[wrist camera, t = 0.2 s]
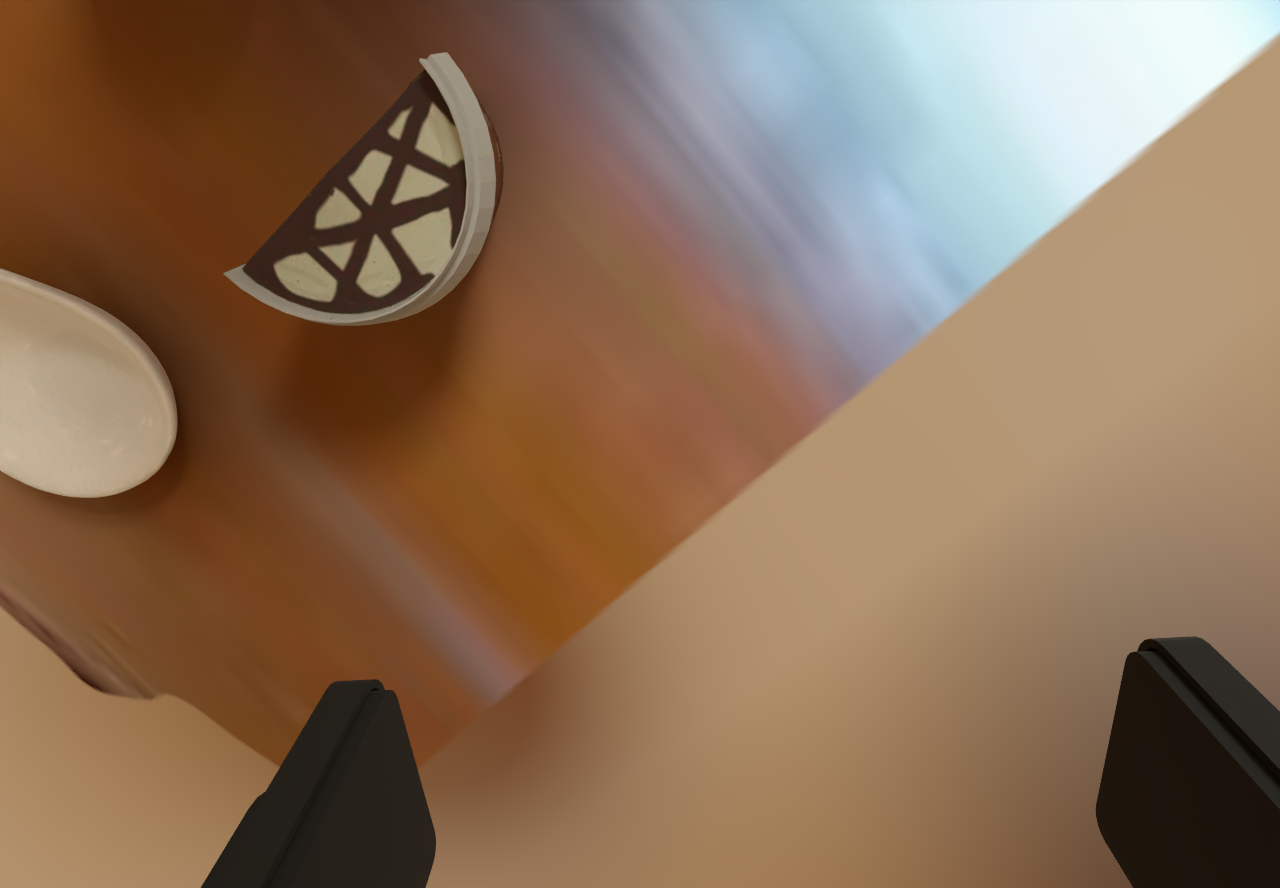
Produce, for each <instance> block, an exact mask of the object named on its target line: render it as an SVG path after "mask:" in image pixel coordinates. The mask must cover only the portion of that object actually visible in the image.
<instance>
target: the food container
mask: <svg viewBox="0 0 1280 888" xmlns="http://www.w3.org/2000/svg"><path fill="white" fill-rule="evenodd" d="M419 61H420V63H421V64H422V65H423V67H424V68H425V70H424V71H423V72H422V73H421V74H420V75H419V76H418V77H417V78H416V79H415V80H414V81H412V82H411V84H410V85H409V87H408V88H407V90H406V91H405V92H404V93H403V94H402V96H401V97H400V98H399V99H398V100H397V101H396V102H395V103H394V104H393V106H392V107H391V108H390V109H389V110H388V111H387V112H386V113H385V114H384V115H383V116H382V117H381V118H380V119H379V120H378V121H377V122H376V124H375V125H374V126H373V127H372V128H371V129H370V130H369V131H368V132H367V133H366V134H365V135H364V136H363V137H362V138H361V139H360V140H359V141H358V142H357V143H356V144H355V146H354V147H353V148H352V149H351V150H350V151H349V152H348V153H347V154H346V155H345V156H344V157H343V158H342V159H341V160H340V161H339V162H338V163H337V164H336V165H335V166H334V167H333V168H332V169H331V170H330V171H329V172H328V173H327V174H326V175H325V176H324V177H323V178H322V179H321V181H320V182H319V183H318V184H317V185H316V187H315V188H314V189H313V190H312V191H311V192H310V194H309V195H308V196H307V197H306V198H305V199H304V201H303V202H302V203H301V204H300V205H299V206H298V207H297V208H296V210H295V211H294V212H293V213H292V214H291V215H290V216H289V217H288V219H287V220H286V221H285V222H284V223H283V224H282V225H281V226H280V227H279V228H278V230H277V231H276V232H275V233H274V234H273V235H272V236H271V237H270V238H269V239H268V240H267V242H266V243H265V244H264V245H263V246H262V247H261V248H260V249H259V250H258V251H257V252H256V254H255V255H254V256H253V257H252V258H251V259H250V260H249V261H248V262H247V263H246V264H244V265H241V266H239V267H237V268H234V269H232V270H229V271H227V272H225V273H224V275H225V276H226V277H227V278H229V279H230V280H231V281H232V282H234V283H235V284H236V285H237V286H238V287H240V288H241V289H242V290H244V291H245V292H247V293H249V294H250V295H252V296H253V297H255V298H256V299H258V300H260V301H261V302H263V303H265V304H267V305H269V306H271V307H274V308H276V309H278V310H280V311H282V312H284V313H288V314H290V315H293V316H296V317H299V318H302V319H305V320H309V321H312V322H317V323H323V324H330V325H336V326H361V325H370V324H378V323H384V322H390V321H396V320H399V319H402V318H405V317H408V316H411V315H414V314H417V313H419V312H421V311H423V310H424V309H426V308H428V307H430V306H432V305H434V304H435V303H437V302H438V301H439V300H441V299H442V298H443V297H444V296H446V295H447V294H448V293H449V292H451V291H452V290H453V289H454V288H455V287H456V286H457V285H458V283H459V282H460V281H461V280H462V279H463V278H464V277H465V276H466V274H467V273H468V272H469V270H470V269H471V267H472V265H473V264H474V262H475V260H476V259H477V257H478V256H479V254H480V252H481V249H482V247H483V244H484V242H485V239H486V237H487V234H488V232H489V228H490V224H491V220H492V219H493V217H494V215H495V212H496V210H497V207H498V205H499V202H500V197H501V192H502V187H503V162H502V153H501V149H500V145H499V141H498V137H497V135H496V132H495V130H494V127H493V124H492V122H491V120H490V118H489V116H488V115H487V113H486V111H485V109H484V107H483V106H482V104H481V103H480V102H479V100H478V99H477V98H476V96H475V95H474V93H473V91H472V89H471V88H470V86H469V84H468V82H467V80H466V79H465V77H464V75H463V73H462V72H461V71H460V69H459V68H458V66H457V65H456V64H455V62H454V61H453V60H452V58H451V57H450V56H449V54H448V53H447V52H444V53H437V54H431V55H430V56H429V57H428V58H427V59H421V58H420V59H419Z"/></svg>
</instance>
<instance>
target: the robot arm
mask: <svg viewBox="0 0 1280 888" xmlns="http://www.w3.org/2000/svg"><path fill="white" fill-rule="evenodd" d="M1096 818H1097V822H1098V826H1099V829H1100V832H1101V834H1102V836H1103V838H1104V840H1105V842H1106V843H1107V845H1108V847H1109V848H1110V850H1111V852H1112V853H1113V855H1114V857H1115V858H1116V860H1117V862H1118V863H1119V865H1120V867H1121V868H1122V870H1123V871H1124V873H1125V875H1126V876H1127V878H1128V880H1129V881H1130V883H1131V885H1132V886H1133V888H1280V712H1279V710H1278V709H1277V708H1276V707H1274V706H1273V705H1272V704H1271V703H1270V702H1269V701H1268V700H1267V699H1266V698H1265V697H1264V696H1263V695H1262V694H1261V693H1260V692H1259V691H1258V690H1257V689H1256V688H1255V687H1254V686H1253V685H1252V684H1251V683H1250V682H1248V681H1247V680H1246V679H1245V678H1244V677H1243V676H1242V675H1241V674H1240V673H1239V672H1238V671H1237V670H1236V669H1235V668H1234V667H1233V666H1232V665H1231V664H1230V663H1229V662H1228V661H1227V660H1226V659H1224V657H1222V656H1221V655H1220V654H1219V653H1218V652H1217V651H1216V650H1215V649H1214V648H1213V647H1212V646H1211V645H1210V644H1209V643H1207V642H1206V641H1204V640H1203V639H1202V638H1198V637H1177V638H1157V639H1147V640H1144V641H1143V642H1142V643H1141V644H1140V646H1139V648H1138V651H1137V652H1132V653H1130V654H1129V655H1128V656H1127V658H1126V661H1125V666H1124V671H1123V676H1122V681H1121V685H1120V690H1119V695H1118V700H1117V705H1116V711H1115V715H1114V720H1113V725H1112V730H1111V735H1110V740H1109V745H1108V749H1107V754H1106V759H1105V764H1104V769H1103V774H1102V779H1101V784H1100V789H1099V794H1098V799H1097V804H1096ZM435 849H436V836H435V830H434V827H433V823H432V820H431V816H430V813H429V809H428V806H427V802H426V799H425V795H424V791H423V788H422V784H421V781H420V777H419V774H418V770H417V766H416V763H415V759H414V755H413V752H412V748H411V745H410V741H409V738H408V734H407V730H406V727H405V723H404V720H403V716H402V713H401V709H400V705H399V702H398V698H397V696H396V693H395V692H394V691H393V690H385V689H384V687H383V684H382V683H381V682H380V681H379V680H375V679H374V680H355V681H336V682H334V683H332V684H331V685H330V686H329V687H328V688H327V690H326V691H325V693H324V695H323V696H322V698H321V700H320V701H319V703H318V705H317V706H316V708H315V710H314V711H313V713H312V715H311V716H310V718H309V720H308V721H307V723H306V725H305V726H304V728H303V730H302V732H301V733H300V735H299V737H298V738H297V740H296V742H295V743H294V745H293V747H292V748H291V750H290V752H289V753H288V755H287V757H286V758H285V760H284V762H283V763H282V765H281V767H280V768H279V770H278V772H277V774H276V775H275V777H274V778H273V780H272V782H271V784H270V785H269V787H268V789H267V790H266V792H264V793H263V794H262V795H260V796H259V797H257V799H256V800H255V801H254V803H253V804H252V805H251V806H250V808H249V809H248V811H247V812H246V814H245V816H244V818H243V819H242V821H241V822H240V824H239V826H238V827H237V829H236V831H235V832H234V834H233V836H232V837H231V839H230V841H229V842H228V844H227V845H226V847H225V849H224V851H223V852H222V854H221V855H220V857H219V859H218V860H217V862H216V864H215V865H214V867H213V868H212V870H211V872H210V873H209V875H208V877H207V878H206V880H205V882H204V883H203V885H202V887H201V888H425V887H426V884H427V881H428V878H429V875H430V872H431V869H432V865H433V861H434V857H435Z"/></svg>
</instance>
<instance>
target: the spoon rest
mask: <svg viewBox="0 0 1280 888" xmlns="http://www.w3.org/2000/svg"><path fill="white" fill-rule="evenodd" d="M177 426H178V418H177V407H176V401H175V396H174V392H173V389H172V386H171V383H170V380H169V378H168V376H167V374H166V372H165V370H164V368H163V367H162V365H161V363H160V362H159V360H158V358H157V357H156V356H155V354H154V353H153V352H152V350H151V349H150V348H149V347H148V346H147V344H146V343H145V342H144V341H143V340H142V339H141V338H140V337H139V336H138V335H137V334H136V333H135V332H134V331H132V330H131V329H130V328H129V327H128V326H126V325H125V324H124V323H123V322H121V321H120V320H119V319H117V318H116V317H114V316H113V315H111V314H109V313H108V312H106V311H104V310H103V309H101V308H99V307H97V306H95V305H93V304H91V303H89V302H87V301H85V300H83V299H81V298H79V297H76V296H74V295H71V294H69V293H67V292H64V291H62V290H59V289H56V288H54V287H51V286H49V285H46V284H43V283H41V282H38V281H35V280H32V279H30V278H27V277H24V276H21V275H19V274H16V273H13V272H10V271H7V270H4V269H1V268H0V471H2V472H3V473H5V474H7V475H9V476H10V477H12V478H14V479H16V480H18V481H20V482H22V483H24V484H27V485H29V486H31V487H34V488H36V489H39V490H42V491H45V492H50V493H54V494H58V495H62V496H68V497H79V498H97V497H104V496H110V495H115V494H118V493H121V492H124V491H127V490H129V489H131V488H133V487H135V486H137V485H139V484H141V483H143V482H145V481H146V480H148V479H149V478H150V477H151V476H153V475H154V474H155V473H156V472H157V471H158V470H159V469H160V468H161V467H162V465H163V464H164V463H165V461H166V459H167V458H168V456H169V454H170V452H171V450H172V448H173V446H174V443H175V439H176V434H177Z"/></svg>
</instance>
